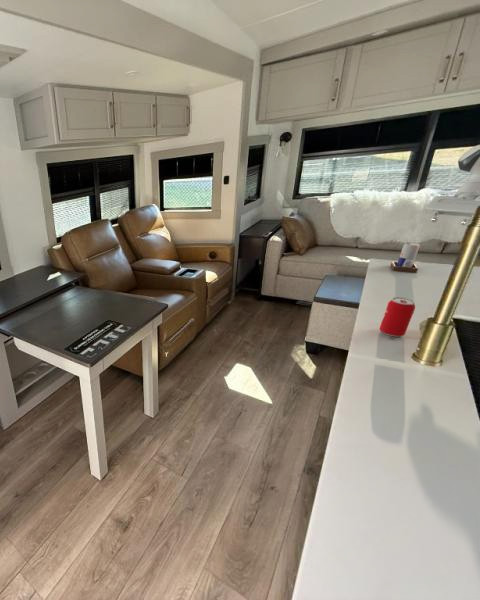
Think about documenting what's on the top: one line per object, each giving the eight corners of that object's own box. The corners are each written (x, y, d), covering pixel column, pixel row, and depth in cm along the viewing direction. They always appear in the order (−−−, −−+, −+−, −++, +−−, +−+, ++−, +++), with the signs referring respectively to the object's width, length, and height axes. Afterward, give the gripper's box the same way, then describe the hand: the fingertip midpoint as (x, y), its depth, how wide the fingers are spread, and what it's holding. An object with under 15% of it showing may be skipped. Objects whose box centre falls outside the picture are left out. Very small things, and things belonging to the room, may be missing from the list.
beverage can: (401, 330, 106) (413, 298, 101) (406, 339, 101) (420, 306, 96) (376, 327, 109) (387, 295, 104) (380, 335, 104) (392, 303, 99)
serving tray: (413, 267, 153) (414, 263, 153) (416, 272, 147) (418, 268, 147) (390, 265, 158) (391, 261, 157) (392, 270, 152) (394, 266, 151)
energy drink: (397, 265, 156) (405, 241, 151) (412, 267, 152) (421, 243, 147) (394, 268, 153) (403, 244, 148) (410, 270, 149) (419, 245, 144)
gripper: (435, 189, 137) (414, 215, 138) (508, 191, 119) (483, 221, 120) (437, 198, 140) (417, 224, 141) (508, 202, 123) (484, 231, 124)
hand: (448, 222), depth 131 cm, fingers open, 8 cm apart
